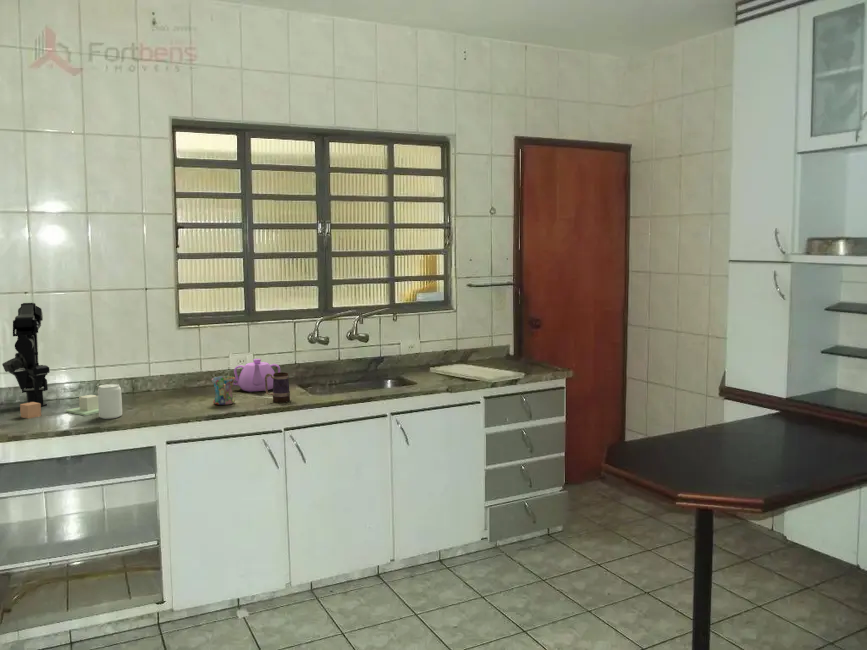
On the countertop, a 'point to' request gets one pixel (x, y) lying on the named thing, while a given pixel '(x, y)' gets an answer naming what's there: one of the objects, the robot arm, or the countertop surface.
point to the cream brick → (88, 402)
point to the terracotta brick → (30, 410)
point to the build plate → (82, 411)
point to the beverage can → (109, 401)
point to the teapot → (255, 376)
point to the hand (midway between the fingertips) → (29, 390)
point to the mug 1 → (223, 390)
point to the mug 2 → (279, 387)
